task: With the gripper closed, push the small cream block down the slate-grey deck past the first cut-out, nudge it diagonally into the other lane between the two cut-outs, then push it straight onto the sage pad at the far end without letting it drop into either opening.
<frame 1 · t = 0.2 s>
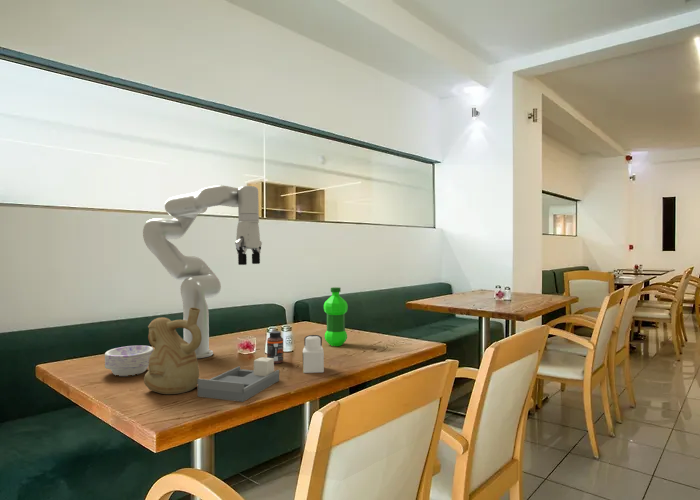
hand: (249, 264, 175), 36 cm above the table, tool pointing down, fingers open, 9 cm apart
plastic bottle: (335, 345, 202), on the table
supplement bottle: (275, 362, 172), on the table
cream block: (263, 373, 147), point 2 cm above the table, touching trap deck
paper bowls: (129, 373, 159), on the table
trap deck: (240, 388, 141), on the table
ceramic vessel: (174, 389, 140), on the table
medicine bottle: (313, 370, 161), on the table
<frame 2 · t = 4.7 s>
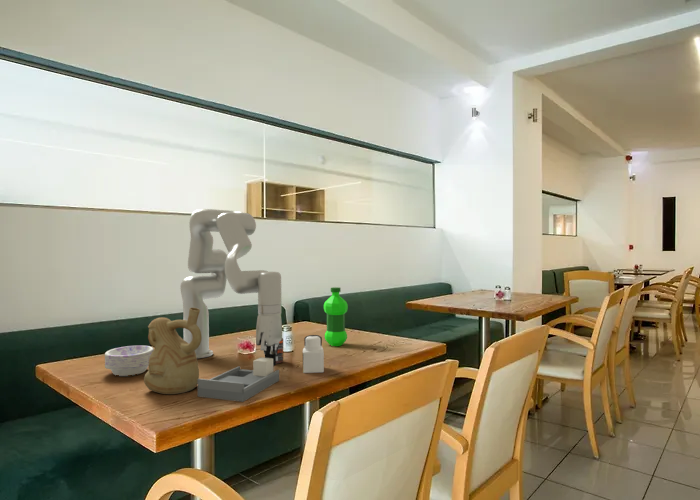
hand: (270, 365, 151), 4 cm above the table, tool pointing down, fingers closed
cream block: (263, 374, 147), point 3 cm above the table, touching gripper
everything else where it was.
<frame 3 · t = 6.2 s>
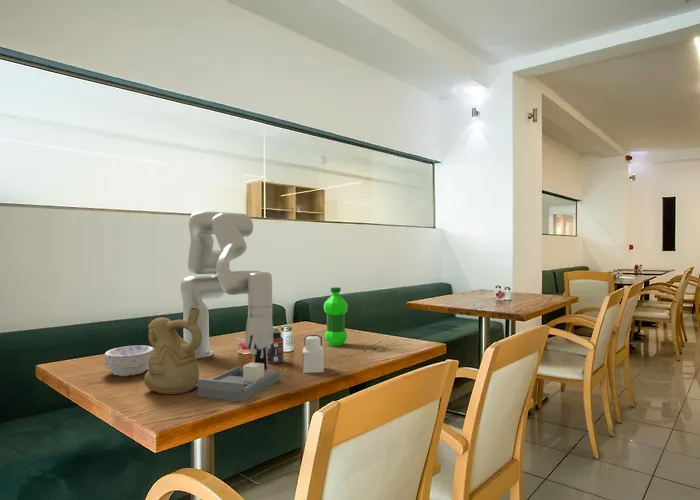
hand: (260, 369, 145), 4 cm above the table, tool pointing down, fingers closed
cream block: (253, 379, 141), point 2 cm above the table, touching gripper, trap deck
everything else where it was.
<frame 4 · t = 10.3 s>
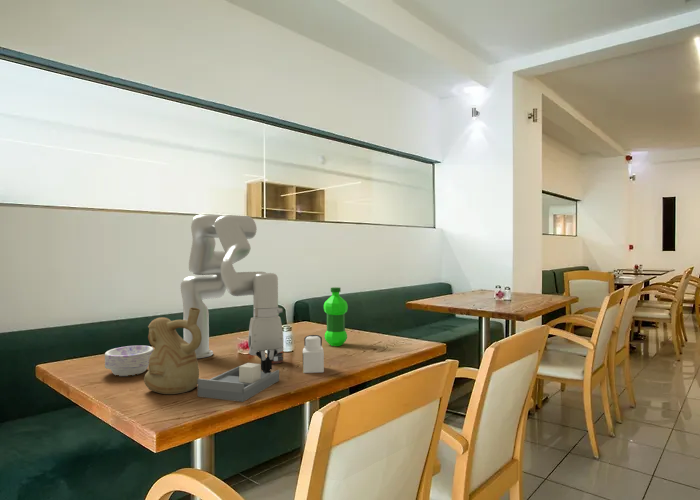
hand: (266, 372, 143), 4 cm above the table, tool pointing down, fingers closed
cream block: (250, 380, 140), point 3 cm above the table, touching gripper
everything else where it was.
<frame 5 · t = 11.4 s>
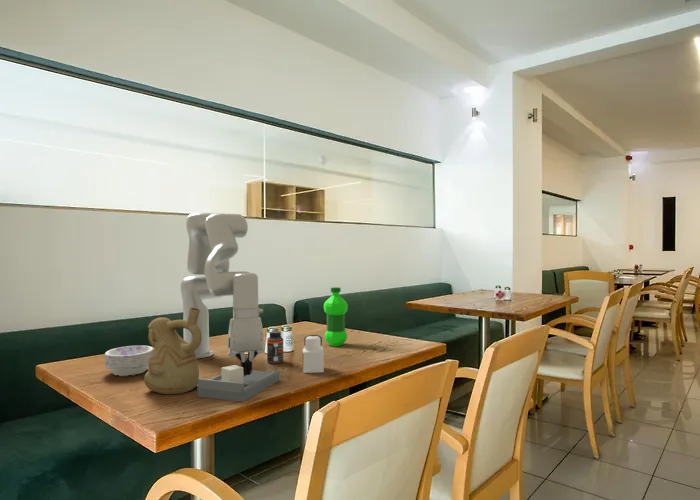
hand: (246, 374, 140), 4 cm above the table, tool pointing down, fingers closed
cream block: (232, 383, 137), point 3 cm above the table, touching gripper
everything else where it was.
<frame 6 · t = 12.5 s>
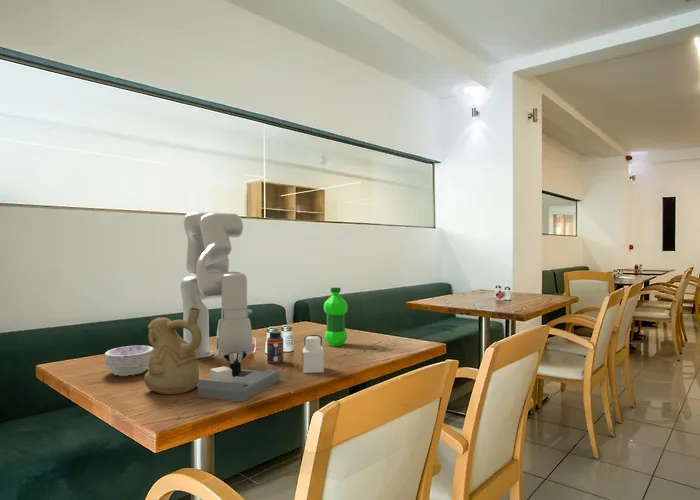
hand: (235, 375, 139), 4 cm above the table, tool pointing down, fingers closed
cream block: (221, 384, 136), point 2 cm above the table, touching gripper, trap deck
everything else where it was.
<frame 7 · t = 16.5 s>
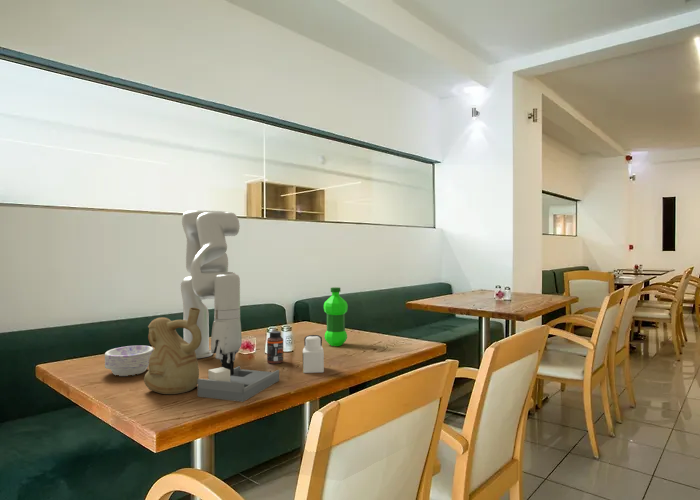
hand: (227, 375, 140), 4 cm above the table, tool pointing down, fingers closed
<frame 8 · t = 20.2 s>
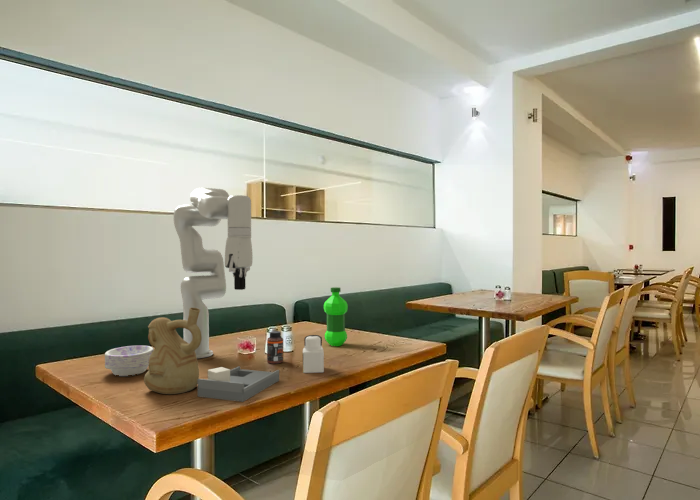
hand: (239, 289, 151), 29 cm above the table, tool pointing down, fingers closed
cream block: (219, 385, 135), point 2 cm above the table, touching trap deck
everything else where it was.
at the end: cream block inside the target area on the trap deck (0.9 cm from its centre), point 2.5 cm above the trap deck's base; cream block tilted 0° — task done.
